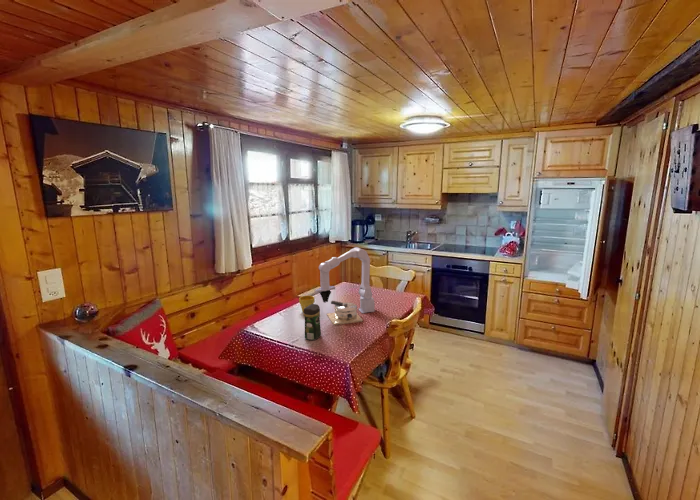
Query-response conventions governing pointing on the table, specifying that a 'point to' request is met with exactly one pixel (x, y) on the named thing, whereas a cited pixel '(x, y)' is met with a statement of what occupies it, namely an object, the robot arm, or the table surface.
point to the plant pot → (306, 301)
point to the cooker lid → (344, 306)
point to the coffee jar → (312, 322)
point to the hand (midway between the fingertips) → (325, 301)
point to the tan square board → (344, 317)
